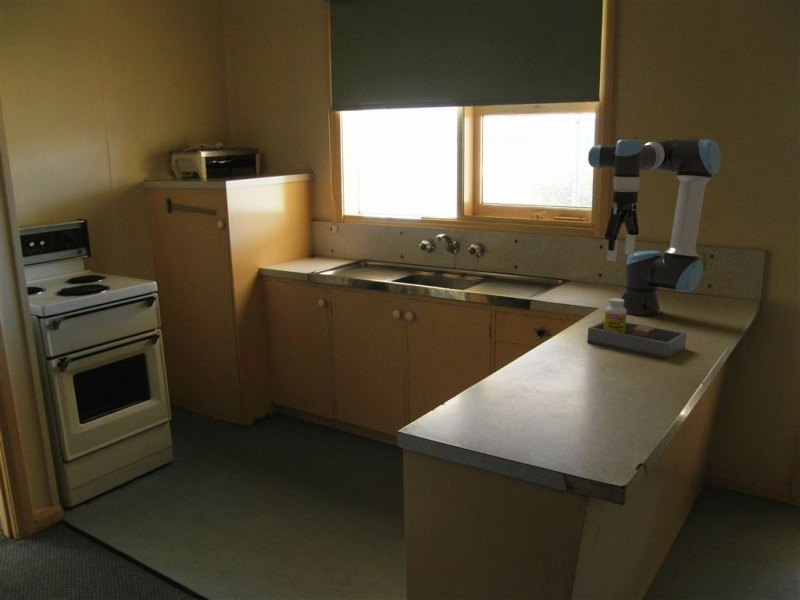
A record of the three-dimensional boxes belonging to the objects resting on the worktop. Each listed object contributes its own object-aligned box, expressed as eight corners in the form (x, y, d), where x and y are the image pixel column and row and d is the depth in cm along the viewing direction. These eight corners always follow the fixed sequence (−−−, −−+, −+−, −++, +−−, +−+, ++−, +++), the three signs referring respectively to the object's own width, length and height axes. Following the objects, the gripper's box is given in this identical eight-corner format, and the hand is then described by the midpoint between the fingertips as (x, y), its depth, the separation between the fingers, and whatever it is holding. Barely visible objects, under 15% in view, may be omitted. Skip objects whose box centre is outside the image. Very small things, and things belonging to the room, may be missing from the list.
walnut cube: (637, 340, 226) (638, 325, 225) (652, 343, 223) (654, 328, 222) (631, 343, 222) (632, 328, 221) (646, 347, 219) (647, 331, 218)
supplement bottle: (604, 340, 226) (606, 301, 223) (602, 334, 232) (604, 296, 229) (625, 341, 225) (628, 302, 222) (623, 335, 231) (626, 297, 228)
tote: (607, 333, 238) (608, 318, 237) (684, 348, 221) (686, 333, 220) (587, 342, 227) (588, 327, 225) (667, 359, 210) (669, 343, 209)
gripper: (630, 187, 229) (625, 251, 234) (596, 192, 211) (592, 261, 216) (652, 188, 224) (647, 253, 229) (620, 193, 206) (615, 264, 211)
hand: (620, 257), depth 223 cm, fingers open, 13 cm apart
